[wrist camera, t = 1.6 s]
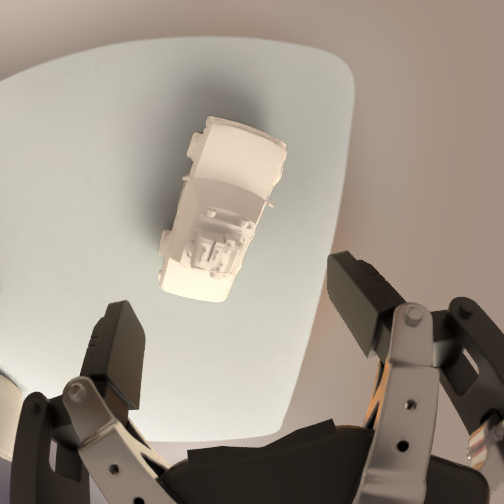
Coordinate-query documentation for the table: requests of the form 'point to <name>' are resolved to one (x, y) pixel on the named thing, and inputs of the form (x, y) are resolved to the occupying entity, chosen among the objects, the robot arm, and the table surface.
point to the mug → (9, 416)
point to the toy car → (219, 208)
